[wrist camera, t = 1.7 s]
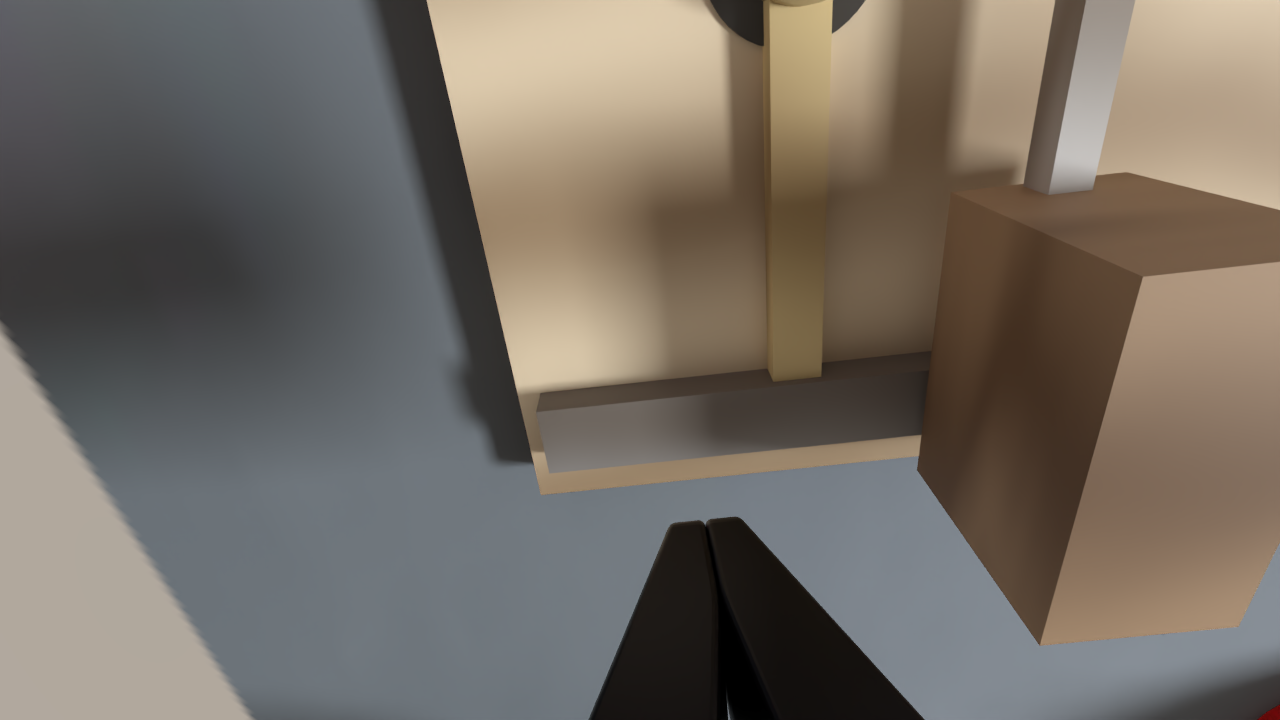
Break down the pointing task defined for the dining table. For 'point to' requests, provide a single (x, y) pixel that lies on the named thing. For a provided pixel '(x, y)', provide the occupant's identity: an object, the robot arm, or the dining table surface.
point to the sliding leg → (1107, 374)
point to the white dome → (1271, 714)
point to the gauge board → (783, 201)
